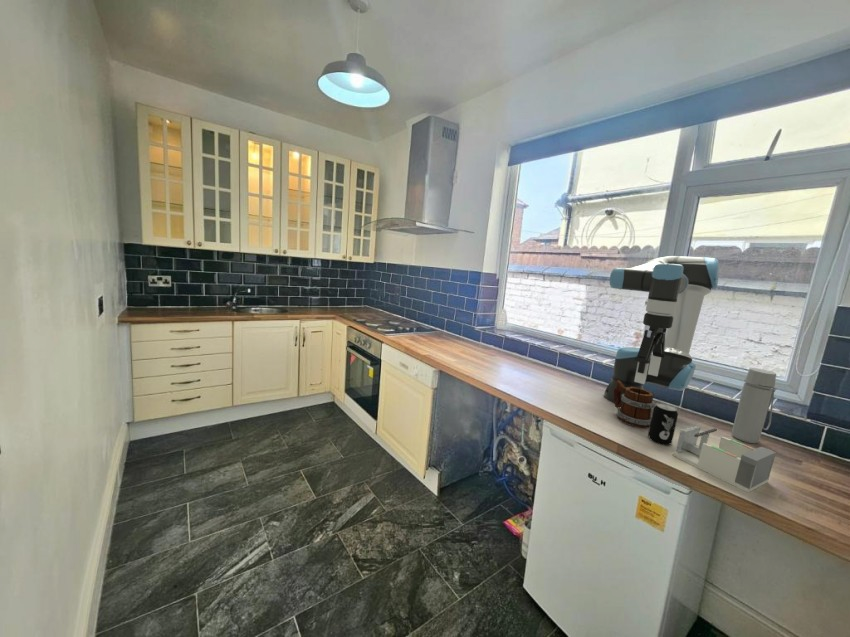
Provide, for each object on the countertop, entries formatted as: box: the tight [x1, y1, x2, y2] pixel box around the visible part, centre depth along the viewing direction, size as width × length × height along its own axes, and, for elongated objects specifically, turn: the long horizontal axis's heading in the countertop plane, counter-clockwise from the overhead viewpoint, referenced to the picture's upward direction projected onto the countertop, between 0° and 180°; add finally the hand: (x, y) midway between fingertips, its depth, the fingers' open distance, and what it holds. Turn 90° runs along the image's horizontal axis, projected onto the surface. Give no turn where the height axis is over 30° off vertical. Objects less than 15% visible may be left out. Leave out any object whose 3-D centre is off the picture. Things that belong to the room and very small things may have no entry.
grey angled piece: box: [675, 425, 718, 456], centre depth 102 cm, size 12×7×8 cm, turn 117°
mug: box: [614, 380, 656, 429], centre depth 126 cm, size 12×14×15 cm
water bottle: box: [731, 367, 778, 444], centre depth 116 cm, size 9×8×25 cm
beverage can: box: [647, 402, 679, 446], centre depth 111 cm, size 7×7×12 cm
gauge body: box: [672, 436, 777, 493], centre depth 97 cm, size 12×18×9 cm, turn 27°
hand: (646, 378), depth 109 cm, fingers open, 13 cm apart
